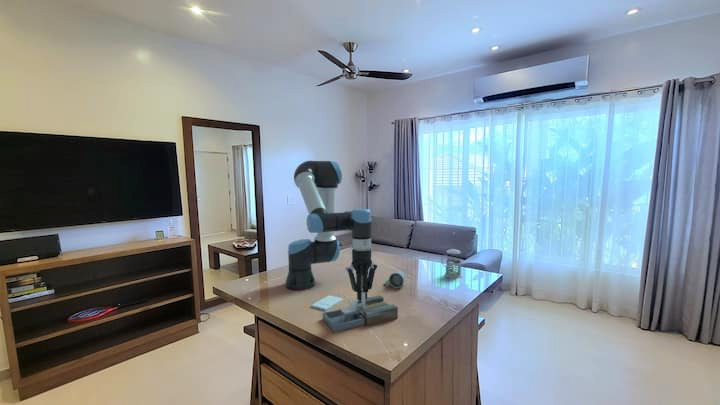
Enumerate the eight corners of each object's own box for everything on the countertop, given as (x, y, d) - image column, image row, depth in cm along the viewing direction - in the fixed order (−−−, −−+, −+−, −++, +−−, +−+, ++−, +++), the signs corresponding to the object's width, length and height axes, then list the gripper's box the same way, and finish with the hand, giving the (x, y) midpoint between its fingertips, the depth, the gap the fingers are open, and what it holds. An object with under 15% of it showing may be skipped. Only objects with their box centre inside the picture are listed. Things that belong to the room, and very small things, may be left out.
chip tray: (322, 319, 115) (322, 312, 115) (351, 312, 121) (351, 306, 121) (333, 332, 105) (333, 326, 105) (364, 325, 110) (364, 318, 110)
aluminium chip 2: (349, 310, 116) (349, 301, 116) (358, 308, 118) (358, 298, 117) (353, 314, 112) (353, 304, 112) (363, 312, 114) (362, 302, 114)
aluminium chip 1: (349, 316, 116) (340, 319, 114) (349, 306, 116) (339, 309, 114) (354, 320, 112) (344, 323, 111) (353, 310, 112) (344, 313, 110)
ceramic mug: (406, 283, 155) (406, 269, 155) (403, 288, 147) (403, 273, 147) (386, 281, 158) (386, 267, 158) (383, 287, 151) (382, 272, 150)
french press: (464, 278, 163) (465, 233, 161) (443, 278, 163) (444, 233, 161) (459, 272, 173) (459, 230, 171) (439, 272, 173) (439, 230, 171)
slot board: (351, 311, 122) (351, 300, 122) (379, 305, 128) (379, 295, 128) (367, 325, 110) (367, 314, 109) (397, 318, 116) (397, 307, 115)
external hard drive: (343, 302, 133) (326, 312, 123) (328, 298, 138) (311, 308, 127) (343, 298, 133) (326, 308, 123) (328, 295, 137) (311, 304, 127)
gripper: (350, 252, 108) (351, 314, 110) (381, 248, 114) (381, 307, 116) (342, 248, 115) (343, 307, 117) (371, 245, 121) (371, 301, 122)
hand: (362, 307), depth 116 cm, fingers closed
